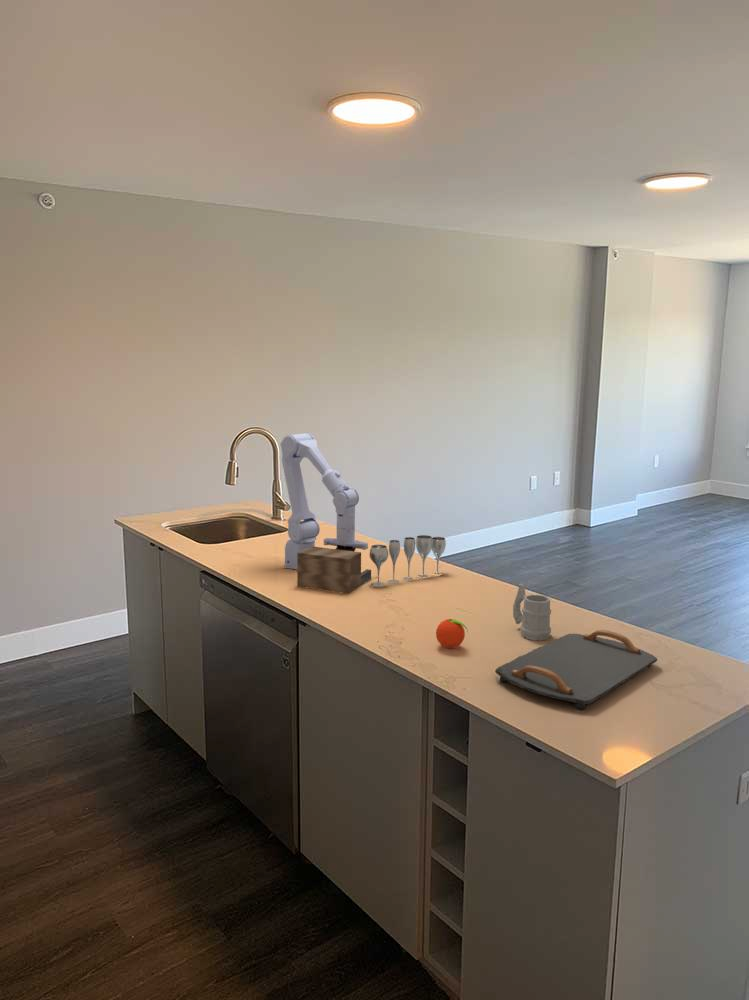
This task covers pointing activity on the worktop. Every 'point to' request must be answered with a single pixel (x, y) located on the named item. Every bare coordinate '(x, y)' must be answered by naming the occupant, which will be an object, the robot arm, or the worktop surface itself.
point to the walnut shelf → (330, 569)
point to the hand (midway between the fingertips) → (345, 569)
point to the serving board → (577, 667)
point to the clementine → (450, 633)
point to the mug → (532, 615)
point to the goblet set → (407, 553)
